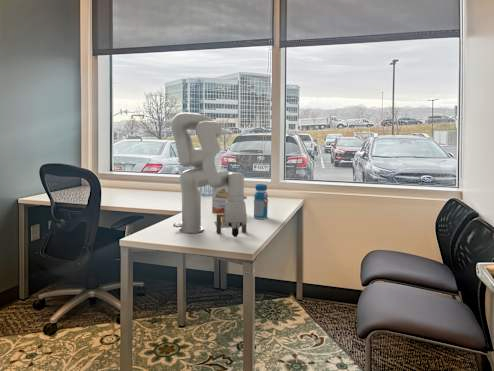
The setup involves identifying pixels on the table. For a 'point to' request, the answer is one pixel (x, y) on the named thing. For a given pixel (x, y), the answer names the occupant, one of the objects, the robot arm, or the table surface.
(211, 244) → the table surface
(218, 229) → the bridge
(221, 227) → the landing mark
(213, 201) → the cracker box
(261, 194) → the beverage bottle
